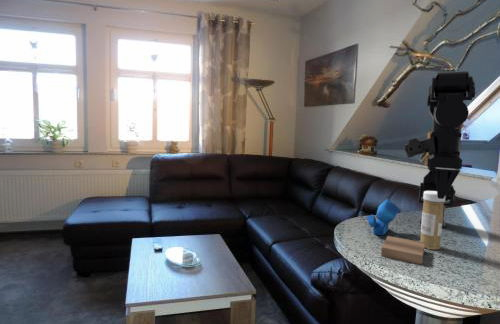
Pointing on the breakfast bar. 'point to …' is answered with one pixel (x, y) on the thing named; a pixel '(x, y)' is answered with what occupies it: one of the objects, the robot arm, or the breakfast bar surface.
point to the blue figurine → (383, 217)
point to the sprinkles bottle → (432, 220)
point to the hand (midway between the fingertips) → (440, 194)
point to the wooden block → (403, 249)
